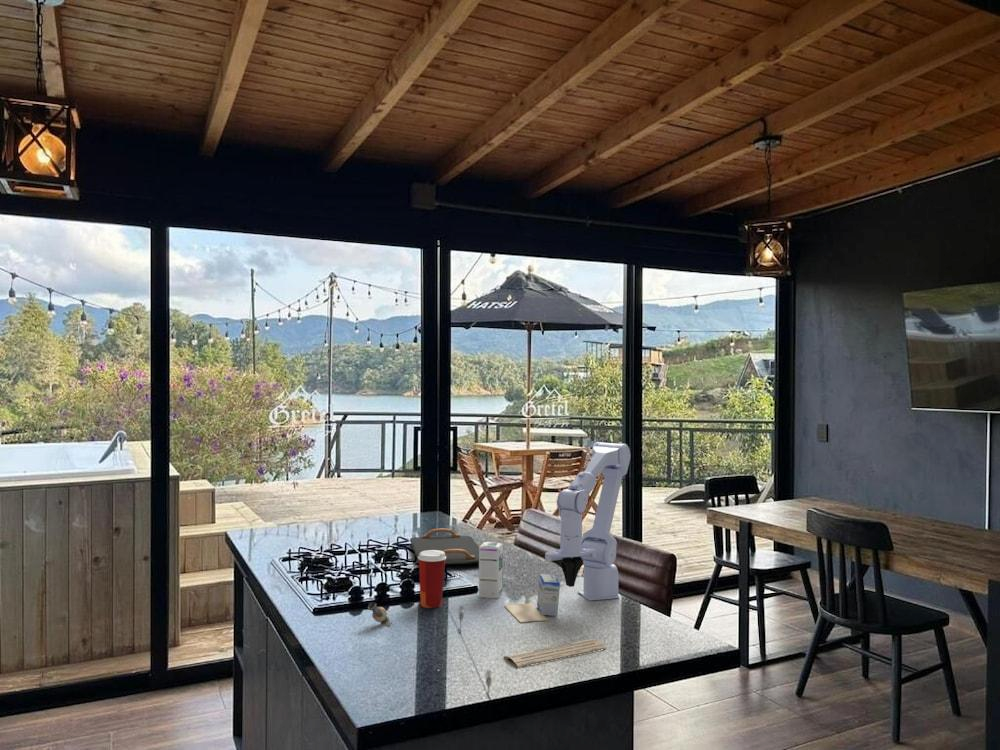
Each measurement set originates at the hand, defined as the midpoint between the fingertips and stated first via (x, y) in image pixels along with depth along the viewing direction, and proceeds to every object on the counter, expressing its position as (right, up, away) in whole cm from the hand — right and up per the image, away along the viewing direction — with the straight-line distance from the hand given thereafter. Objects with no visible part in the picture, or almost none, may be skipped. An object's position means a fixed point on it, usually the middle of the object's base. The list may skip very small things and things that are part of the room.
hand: (570, 585), depth 190 cm
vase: (-49, -6, -15) cm, 51 cm away
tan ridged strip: (-6, -7, -30) cm, 31 cm away
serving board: (-37, -6, +55) cm, 67 cm away
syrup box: (-21, -6, +11) cm, 25 cm away
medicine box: (-6, -6, -2) cm, 9 cm away
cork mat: (-12, -6, -4) cm, 14 cm away
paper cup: (-37, -6, +2) cm, 38 cm away
